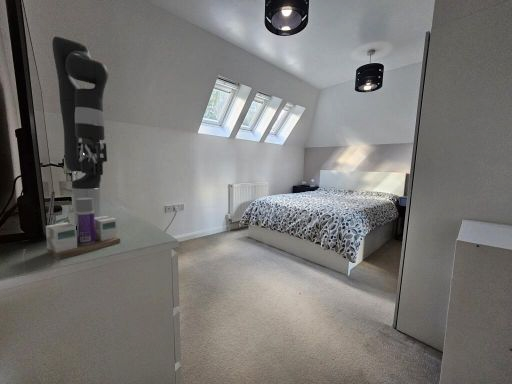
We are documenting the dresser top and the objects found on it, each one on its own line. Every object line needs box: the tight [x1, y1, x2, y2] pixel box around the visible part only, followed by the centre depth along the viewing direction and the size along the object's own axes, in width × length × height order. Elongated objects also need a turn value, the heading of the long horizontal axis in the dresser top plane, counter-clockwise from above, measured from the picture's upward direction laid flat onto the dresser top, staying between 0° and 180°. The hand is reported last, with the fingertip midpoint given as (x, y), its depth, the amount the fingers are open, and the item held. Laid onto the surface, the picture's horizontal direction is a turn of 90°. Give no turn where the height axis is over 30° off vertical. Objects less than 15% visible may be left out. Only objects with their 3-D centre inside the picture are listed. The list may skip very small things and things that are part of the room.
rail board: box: [45, 215, 121, 260], centre depth 71 cm, size 9×17×8 cm, turn 152°
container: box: [76, 198, 95, 245], centre depth 71 cm, size 5×5×15 cm
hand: (92, 174), depth 72 cm, fingers open, 8 cm apart
